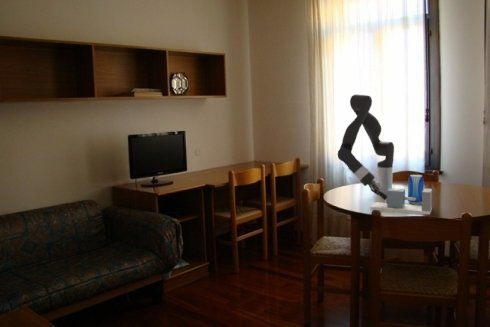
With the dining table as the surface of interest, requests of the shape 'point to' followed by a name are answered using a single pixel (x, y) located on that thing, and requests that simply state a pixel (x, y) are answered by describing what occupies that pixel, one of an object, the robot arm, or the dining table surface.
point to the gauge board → (422, 209)
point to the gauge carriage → (397, 198)
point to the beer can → (415, 188)
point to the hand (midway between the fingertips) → (386, 198)
